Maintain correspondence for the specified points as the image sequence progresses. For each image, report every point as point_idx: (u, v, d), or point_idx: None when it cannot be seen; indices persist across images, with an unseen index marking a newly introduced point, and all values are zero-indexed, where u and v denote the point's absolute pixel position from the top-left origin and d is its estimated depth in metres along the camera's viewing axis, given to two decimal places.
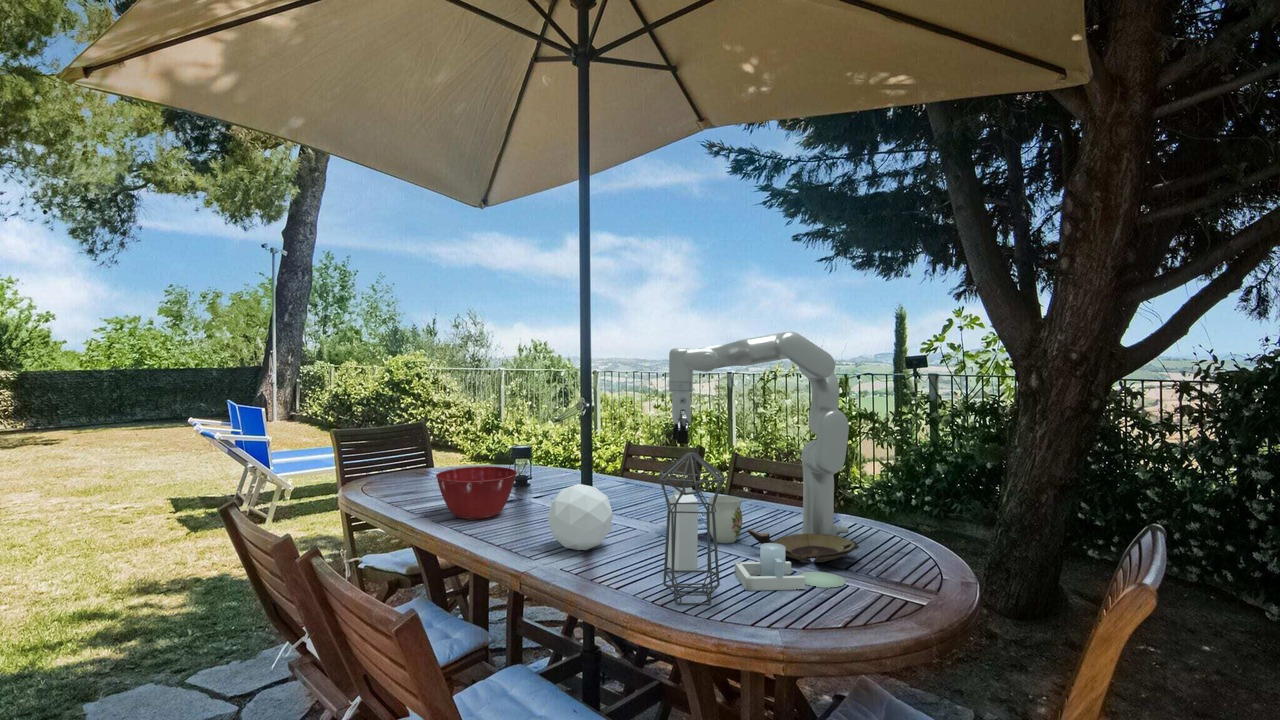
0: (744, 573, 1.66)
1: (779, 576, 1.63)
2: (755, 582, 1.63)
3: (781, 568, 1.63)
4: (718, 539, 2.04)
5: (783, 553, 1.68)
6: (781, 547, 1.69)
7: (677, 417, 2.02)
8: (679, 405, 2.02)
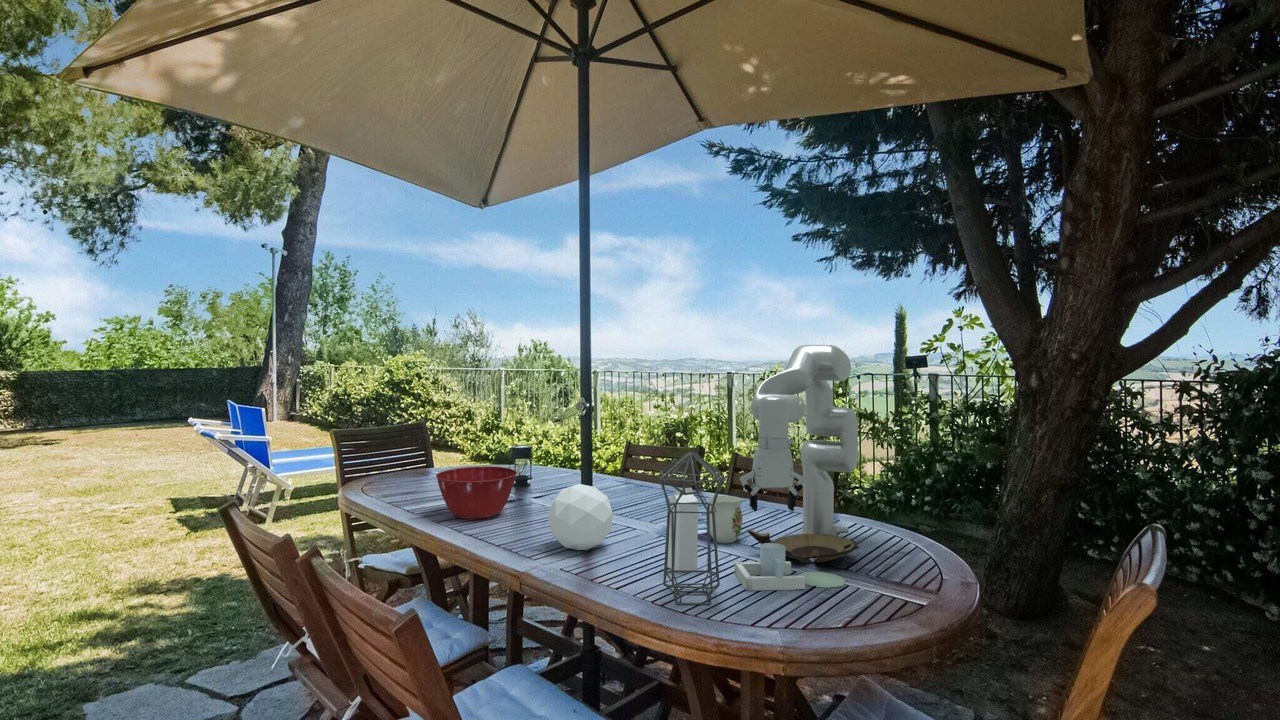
0: (744, 573, 1.66)
1: (779, 576, 1.63)
2: (755, 582, 1.63)
3: (781, 568, 1.63)
4: (718, 539, 2.04)
5: (783, 553, 1.68)
6: (781, 547, 1.69)
7: (793, 479, 1.69)
8: (792, 465, 1.69)
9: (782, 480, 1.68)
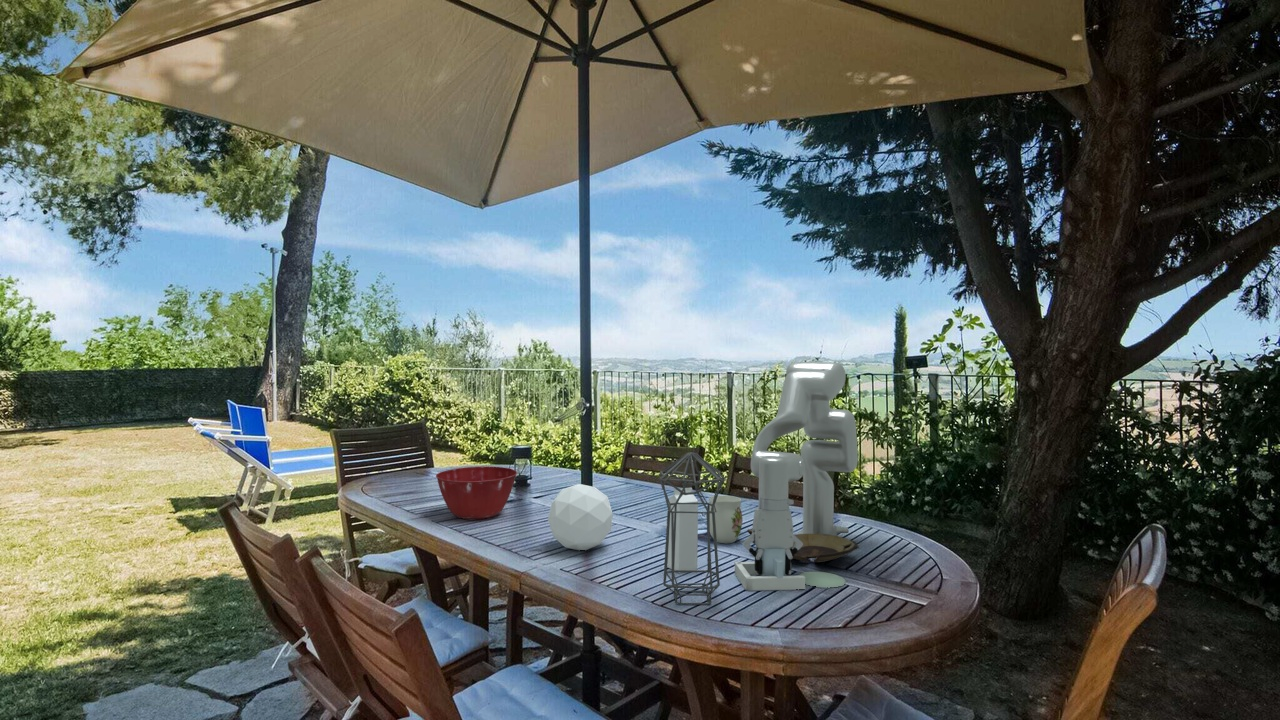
0: (744, 573, 1.66)
1: (779, 576, 1.63)
2: (755, 582, 1.63)
3: (781, 568, 1.63)
4: (718, 539, 2.04)
5: (783, 553, 1.68)
6: None
7: (793, 540, 1.69)
8: (792, 525, 1.69)
9: (782, 541, 1.68)
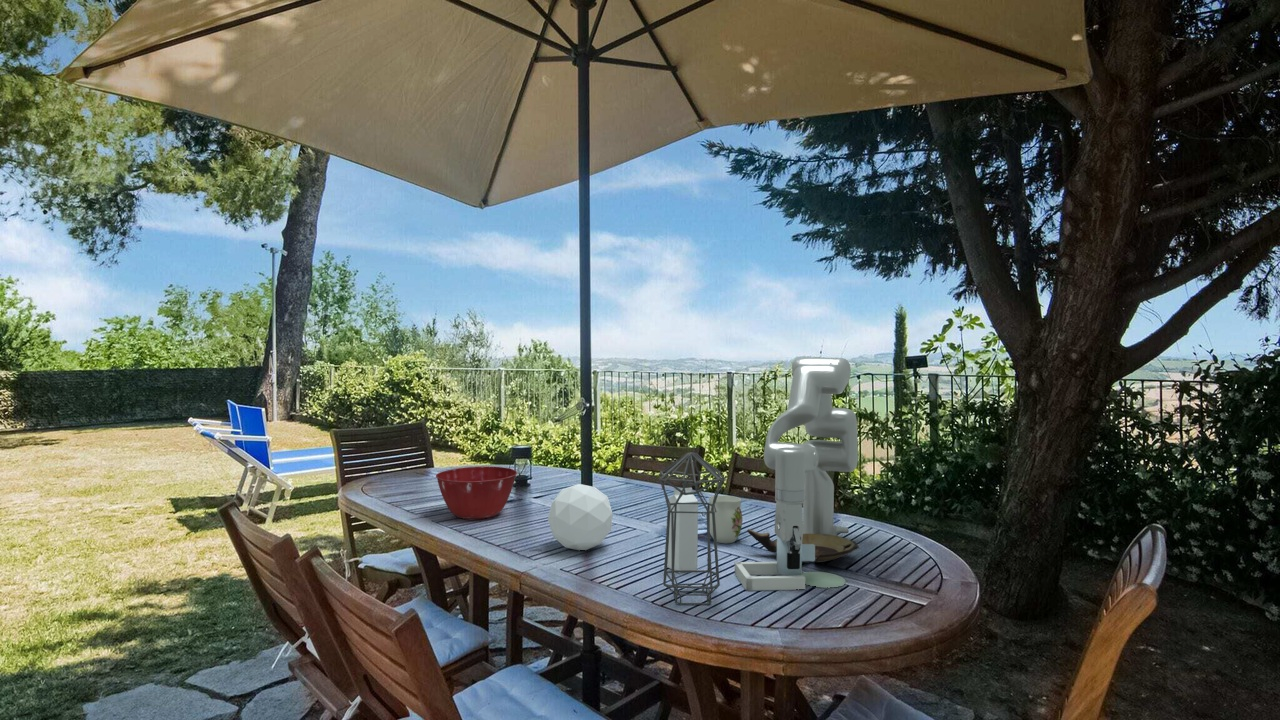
0: (744, 573, 1.66)
1: None
2: (755, 582, 1.63)
3: None
4: (718, 539, 2.04)
5: None
6: None
7: None
8: None
9: None
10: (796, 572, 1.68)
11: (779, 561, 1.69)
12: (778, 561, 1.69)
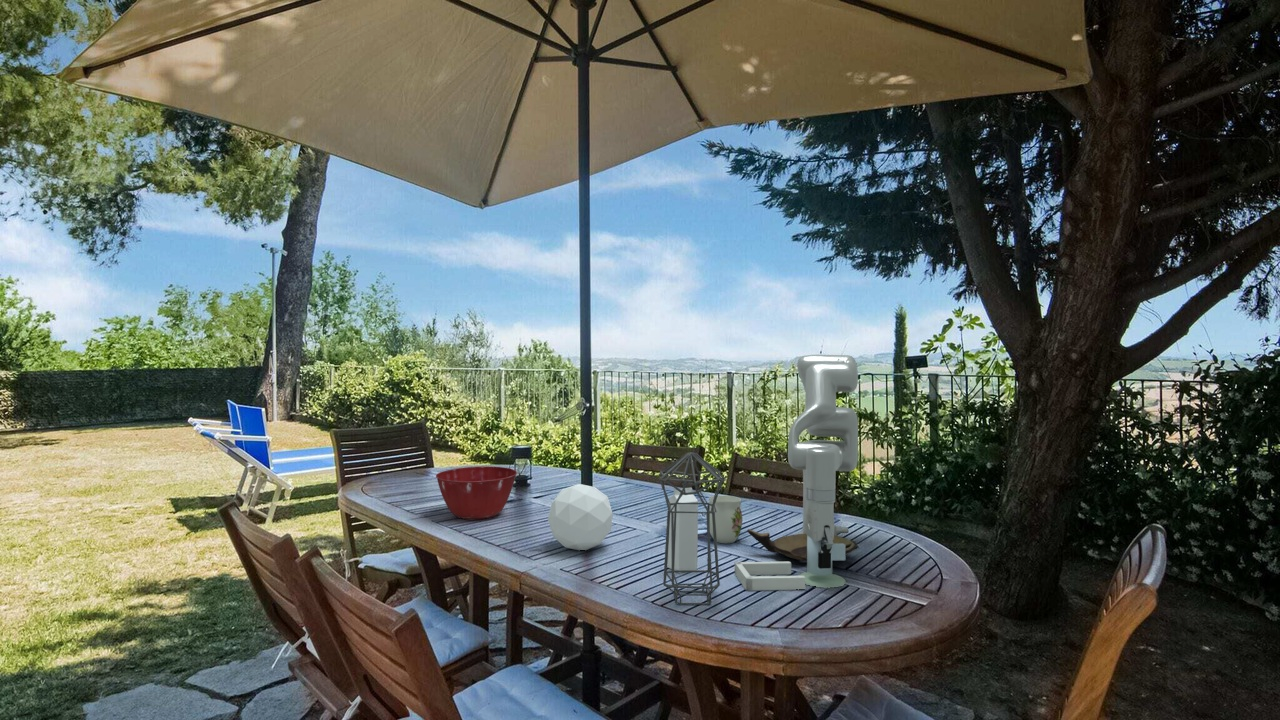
0: (744, 573, 1.66)
1: None
2: (755, 582, 1.63)
3: None
4: (718, 539, 2.04)
5: None
6: None
7: None
8: None
9: None
10: (827, 572, 1.68)
11: (810, 560, 1.69)
12: (809, 560, 1.70)
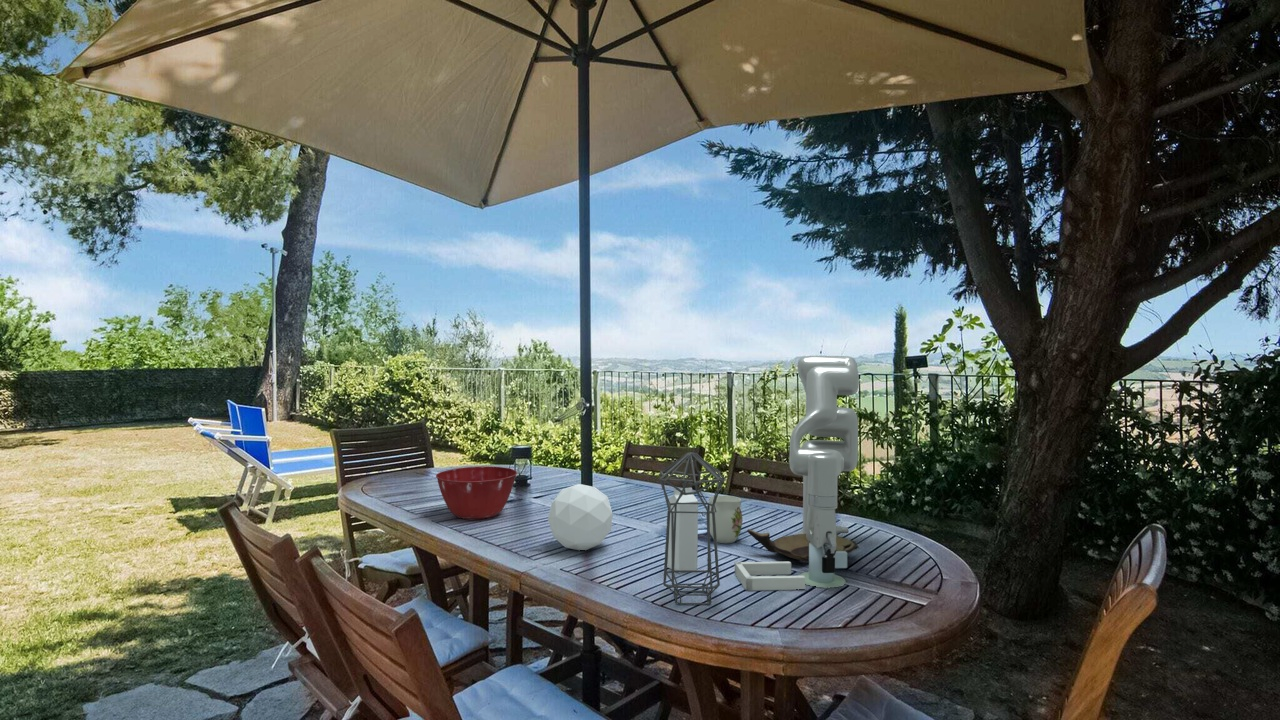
0: (744, 573, 1.66)
1: None
2: (755, 582, 1.63)
3: None
4: (718, 539, 2.04)
5: None
6: None
7: None
8: None
9: None
10: (829, 579, 1.68)
11: (812, 568, 1.70)
12: (811, 568, 1.70)
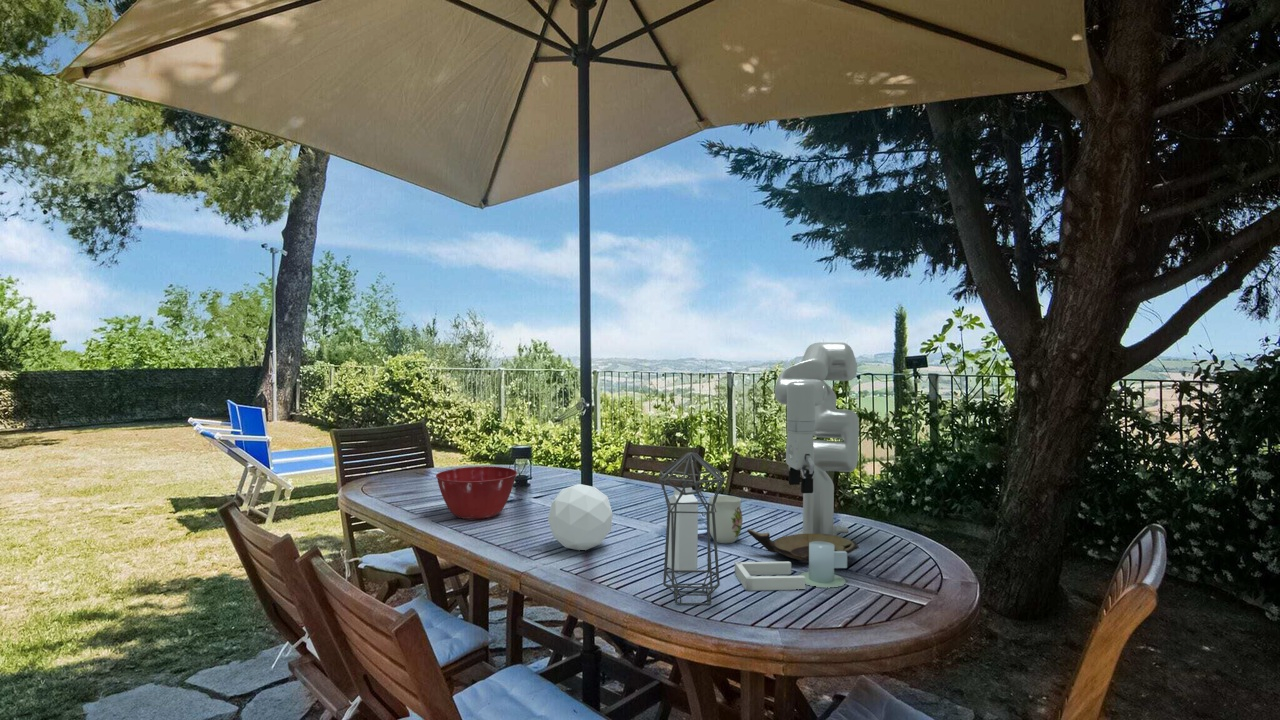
0: (744, 573, 1.66)
1: None
2: (755, 582, 1.63)
3: None
4: (718, 539, 2.04)
5: None
6: (822, 542, 1.73)
7: None
8: None
9: None
10: (829, 579, 1.68)
11: (812, 568, 1.70)
12: (811, 568, 1.70)
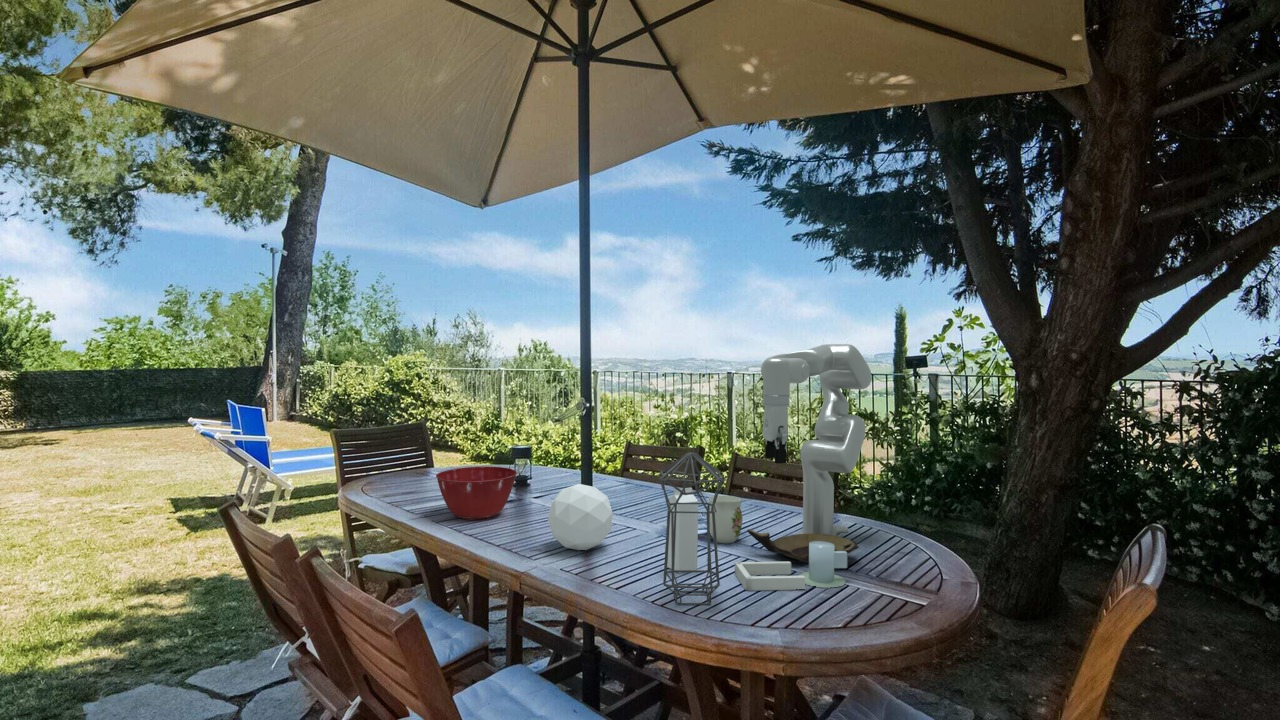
0: (744, 573, 1.66)
1: None
2: (755, 582, 1.63)
3: None
4: (718, 539, 2.04)
5: None
6: (822, 542, 1.73)
7: None
8: None
9: None
10: (829, 579, 1.68)
11: (812, 568, 1.70)
12: (811, 568, 1.70)
